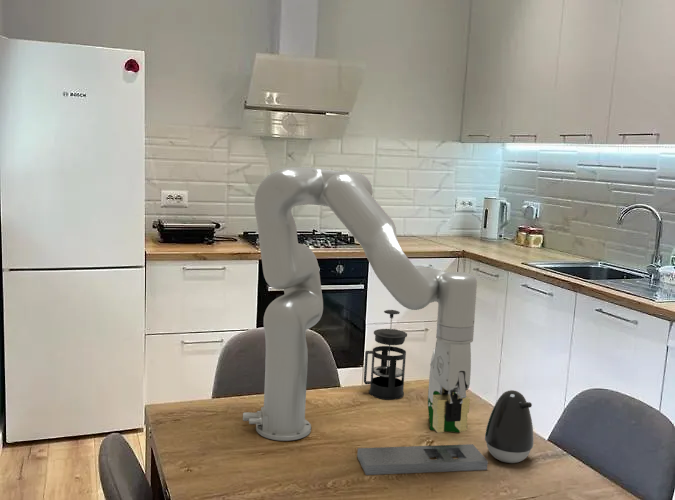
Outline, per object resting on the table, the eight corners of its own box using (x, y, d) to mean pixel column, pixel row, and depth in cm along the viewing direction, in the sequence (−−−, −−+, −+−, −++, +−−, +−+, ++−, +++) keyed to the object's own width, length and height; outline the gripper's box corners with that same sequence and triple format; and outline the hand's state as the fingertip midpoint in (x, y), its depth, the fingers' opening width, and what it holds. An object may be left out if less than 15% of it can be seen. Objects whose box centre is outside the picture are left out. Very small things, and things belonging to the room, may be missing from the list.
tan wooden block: (435, 432, 140) (437, 400, 139) (431, 426, 143) (433, 394, 142) (467, 431, 141) (469, 398, 140) (462, 425, 144) (464, 393, 143)
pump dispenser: (505, 472, 140) (512, 402, 138) (473, 451, 149) (479, 385, 147) (542, 464, 145) (549, 396, 143) (509, 444, 154) (515, 380, 152)
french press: (400, 387, 188) (406, 306, 185) (410, 399, 179) (416, 315, 176) (359, 387, 186) (364, 306, 183) (367, 400, 177) (372, 314, 173)
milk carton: (426, 431, 159) (432, 349, 156) (425, 416, 168) (431, 338, 165) (464, 434, 158) (471, 352, 155) (461, 419, 167) (467, 341, 164)
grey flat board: (365, 475, 136) (366, 465, 135) (357, 457, 143) (357, 448, 143) (486, 469, 141) (487, 460, 140) (472, 452, 149) (472, 444, 148)
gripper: (424, 322, 146) (420, 404, 149) (451, 343, 130) (446, 434, 133) (457, 322, 148) (452, 402, 150) (488, 342, 132) (482, 432, 134)
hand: (449, 416), depth 141 cm, fingers closed on tan wooden block, 3 cm apart
